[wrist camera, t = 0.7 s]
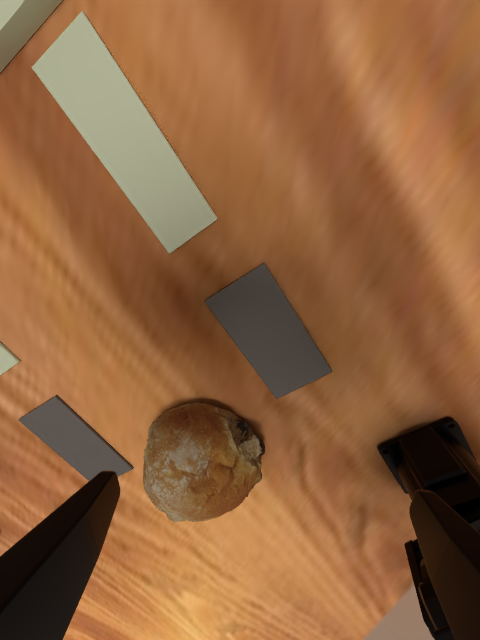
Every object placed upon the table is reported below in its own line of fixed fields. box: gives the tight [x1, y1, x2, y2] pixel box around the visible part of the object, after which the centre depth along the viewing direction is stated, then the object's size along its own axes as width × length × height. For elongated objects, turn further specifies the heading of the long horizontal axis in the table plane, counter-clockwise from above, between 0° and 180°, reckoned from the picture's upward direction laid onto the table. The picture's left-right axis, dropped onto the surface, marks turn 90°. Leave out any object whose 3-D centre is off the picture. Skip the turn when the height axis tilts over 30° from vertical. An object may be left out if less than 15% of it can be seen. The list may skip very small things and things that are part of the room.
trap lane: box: [0, 0, 332, 481], centre depth 21 cm, size 28×26×2 cm
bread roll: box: [143, 402, 265, 522], centre depth 24 cm, size 10×10×8 cm
